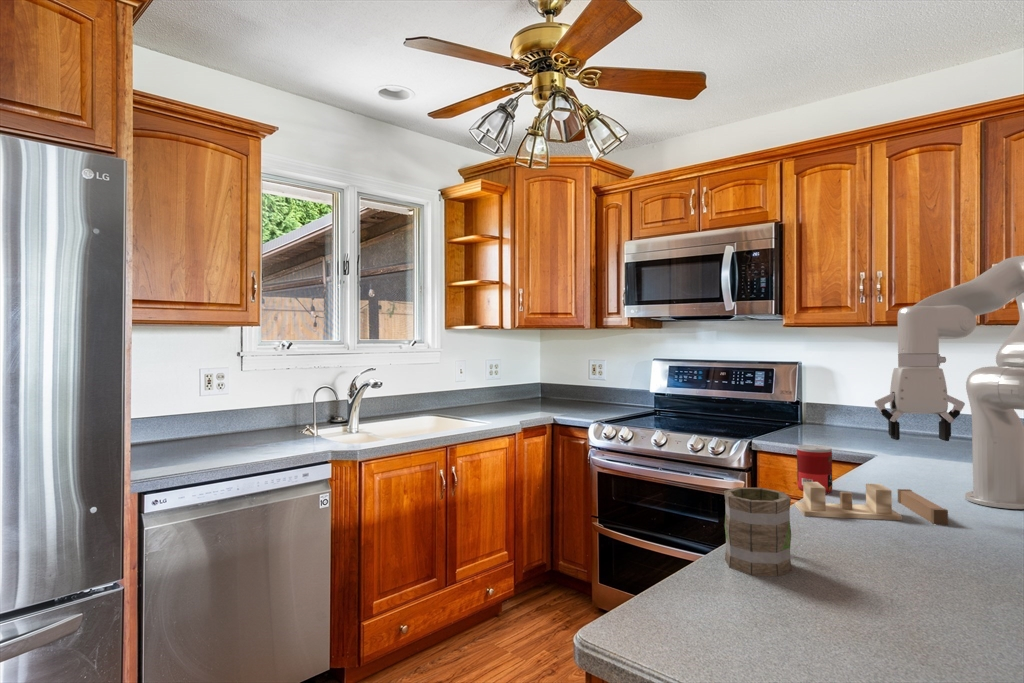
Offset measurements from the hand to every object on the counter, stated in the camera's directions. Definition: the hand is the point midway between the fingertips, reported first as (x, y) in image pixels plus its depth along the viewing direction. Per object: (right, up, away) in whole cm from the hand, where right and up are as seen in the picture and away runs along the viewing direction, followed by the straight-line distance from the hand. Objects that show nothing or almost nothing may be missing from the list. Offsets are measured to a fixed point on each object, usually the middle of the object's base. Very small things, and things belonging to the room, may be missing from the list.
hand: (919, 439), depth 133 cm
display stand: (-16, -16, 0) cm, 23 cm away
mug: (-47, -17, -28) cm, 57 cm away
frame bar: (0, -16, 0) cm, 16 cm away
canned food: (-13, -17, +21) cm, 30 cm away
